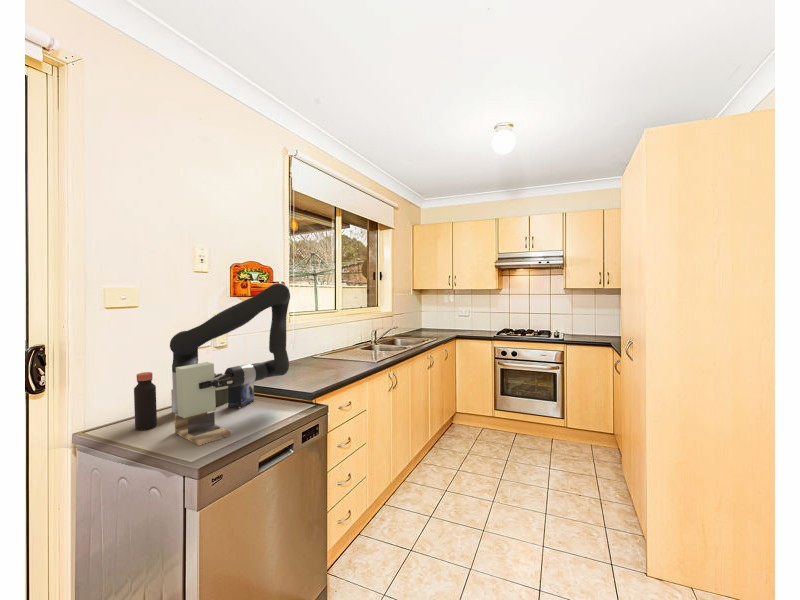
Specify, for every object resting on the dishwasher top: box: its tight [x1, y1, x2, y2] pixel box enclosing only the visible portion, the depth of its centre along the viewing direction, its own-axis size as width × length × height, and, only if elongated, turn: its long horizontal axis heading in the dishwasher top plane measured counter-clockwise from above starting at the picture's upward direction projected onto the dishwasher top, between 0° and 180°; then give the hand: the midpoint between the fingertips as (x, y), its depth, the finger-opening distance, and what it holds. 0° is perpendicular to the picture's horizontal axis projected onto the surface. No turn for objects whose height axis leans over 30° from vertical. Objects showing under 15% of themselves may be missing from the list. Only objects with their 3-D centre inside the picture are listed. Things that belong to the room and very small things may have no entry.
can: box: [215, 386, 228, 406], centre depth 176 cm, size 12×12×7 cm
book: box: [176, 361, 217, 418], centre depth 141 cm, size 5×11×17 cm, turn 141°
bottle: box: [133, 371, 158, 431], centre depth 145 cm, size 7×7×20 cm
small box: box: [227, 381, 255, 408], centre depth 173 cm, size 11×6×10 cm, turn 168°
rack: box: [174, 411, 232, 446], centre depth 139 cm, size 18×11×6 cm, turn 51°
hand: (195, 384), depth 141 cm, fingers closed on book, 5 cm apart
